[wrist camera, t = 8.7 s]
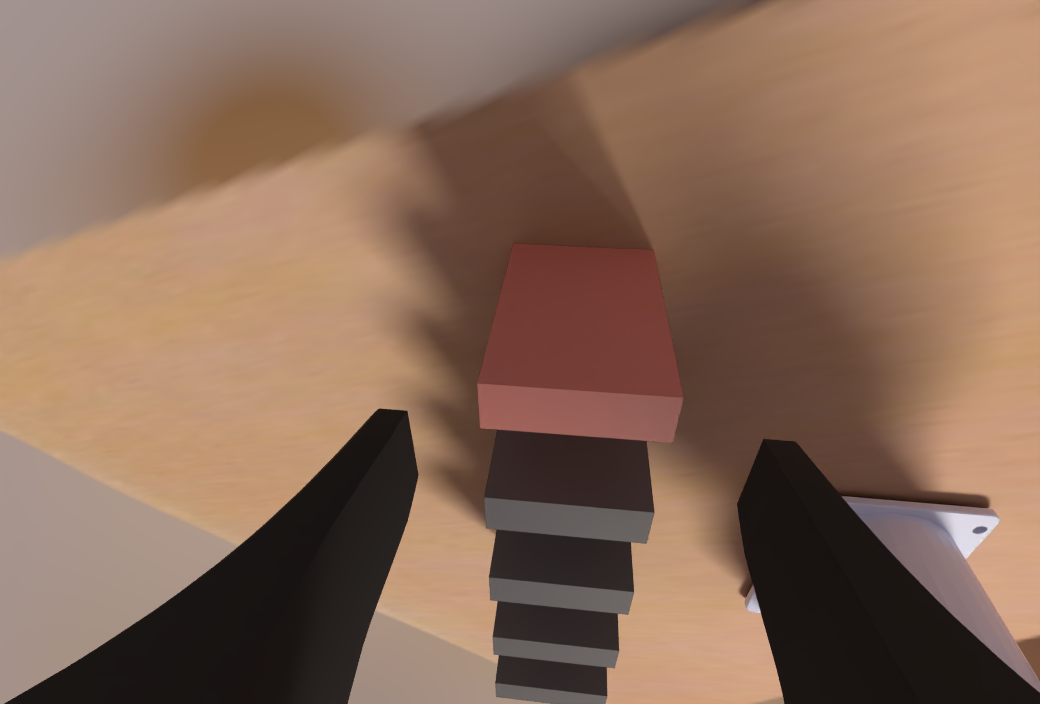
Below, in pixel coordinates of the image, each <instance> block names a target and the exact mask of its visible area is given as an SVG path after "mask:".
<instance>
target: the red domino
mask: <svg viewBox="0 0 1040 704" xmlns="http://www.w3.org/2000/svg"><path fill="white" fill-rule="evenodd" d="M477 388H478V404H479V419H480V428H485V429H498V430H511V431H524V432H537V433H551V434H564V435H577V436H590V437H603V438H616V439H630V440H643V441H656V442H669V443H673V439H674V435H675V431H676V427H677V423H678V419H679V415H680V411H681V407H682V403H683V399H684V396H683V391H682V386H681V381H680V377H679V372H678V367H677V362H676V357H675V352H674V347H673V342H672V338H671V333H670V328H669V323H668V318H667V313H666V308H665V303H664V299H663V294H662V289H661V284H660V279H659V274H658V269H657V264H656V260H655V255H654V250H643V249H621V248H600V247H578V246H557V245H535V244H514V243H513V247H512V250H511V254H510V258H509V262H508V266H507V270H506V274H505V278H504V281H503V285H502V289H501V293H500V297H499V301H498V305H497V309H496V313H495V316H494V320H493V324H492V328H491V332H490V336H489V340H488V344H487V347H486V351H485V355H484V359H483V363H482V367H481V371H480V375H479V378H478V382H477Z"/></svg>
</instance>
